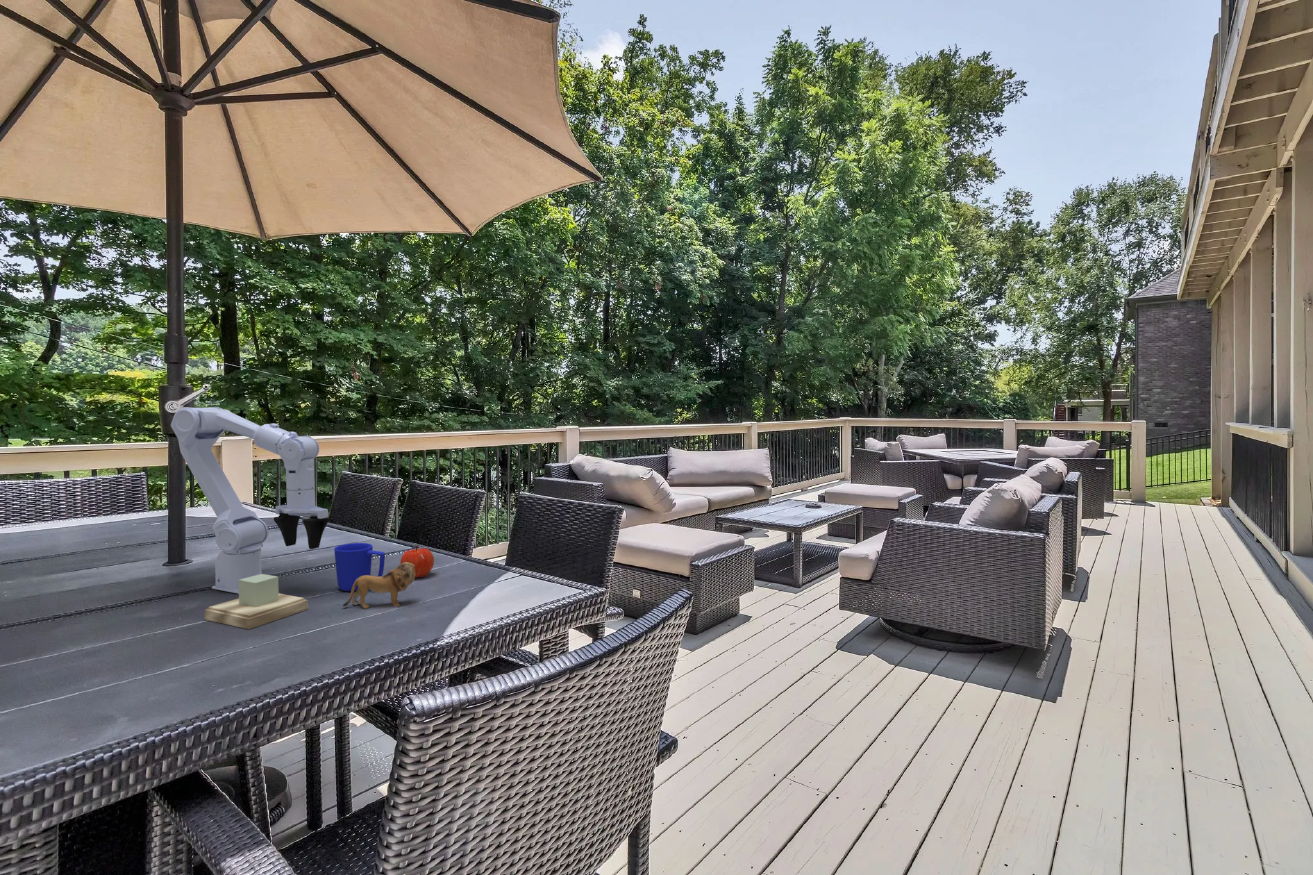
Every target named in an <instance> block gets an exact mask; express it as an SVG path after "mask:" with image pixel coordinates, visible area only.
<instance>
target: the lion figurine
mask: <svg viewBox="0 0 1313 875" xmlns="http://www.w3.org/2000/svg"><path fill="white" fill-rule="evenodd" d="M414 568H415V565H412V563H409V562H404V563H402V564H401V565H400V564H399V565H398V566H396V568H394V569H392V570H389V571H388V572H387V573H386V574H383V575H382V577H378V576H374V575H370V576H369V575H365V576H361V577H359V578H358V579H357V580H356V581H355V582H354V584H353V587H352V590H351V591H350V594H349V598H348V599H347V601H346V602H345V603H344V604H343V605H342V606H343V607H347V606H349V604H350V603H352V605H353V606H356V605H359V604H361V607H362V608H363V609H369V608H370V605H369V604H366V602H365V599H366V596H367V594H368V591H372V592H373V593H377V594H386V593H390V602H391V603H392V606H393V607H400V603H399V599H398V597H399V596H398V595H399V592H404V591H406V590H407V588H408V587H409V586H410V585H411V584H412V583H413V582H414V580H415V575H416V574H415V569H414ZM356 585H358V589H357V591H355V588H356ZM358 598H359V601H358V600H357V599H358Z"/></svg>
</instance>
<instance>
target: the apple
mask: <svg viewBox="0 0 1313 875" xmlns="http://www.w3.org/2000/svg"><path fill="white" fill-rule="evenodd" d="M399 562H400V564H399V565H401V564H402V563H404V562H409V563H412V565H415V568H414V569H415V574H416V575H415V578H417V579H418V578H423V577H425V576H427V575H428V574H429V573H430V572H431V571H432V569H433V568H434V565H435V564H434V563H435V558H434V554H433V552H431V550H430V549H428V548H426V547H425V548H424V547H423V548H418V545H415V548H414V549H409V550H407V551H405V552H404V553H403V554H402V556H401V558H400V561H399ZM415 578H414V579H415Z"/></svg>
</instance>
